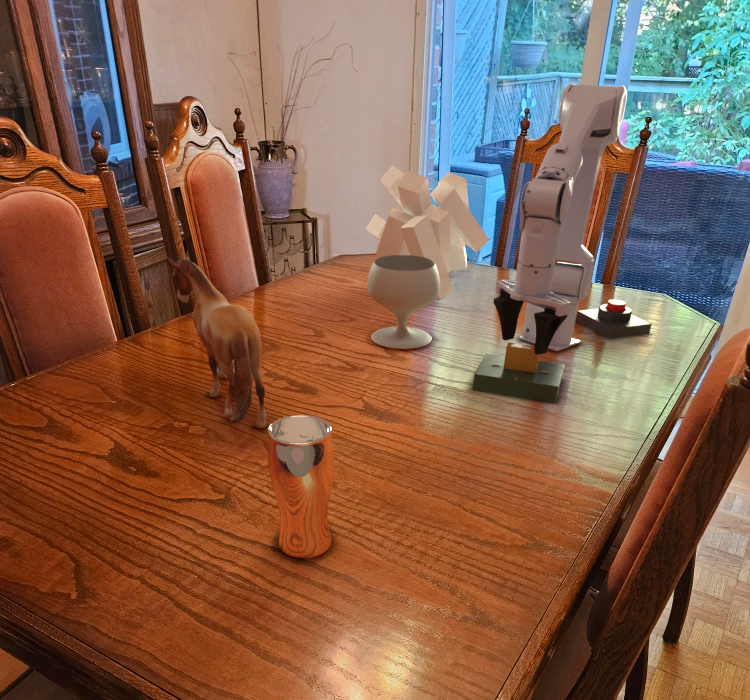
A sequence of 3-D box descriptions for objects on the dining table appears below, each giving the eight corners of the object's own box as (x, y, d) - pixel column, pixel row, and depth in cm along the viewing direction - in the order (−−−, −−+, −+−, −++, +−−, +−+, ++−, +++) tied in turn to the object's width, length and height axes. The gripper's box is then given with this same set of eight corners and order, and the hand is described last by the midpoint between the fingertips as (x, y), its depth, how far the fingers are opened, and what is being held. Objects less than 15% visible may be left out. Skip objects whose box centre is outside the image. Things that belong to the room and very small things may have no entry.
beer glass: (276, 526, 80) (267, 414, 72) (334, 524, 81) (332, 413, 72) (274, 562, 75) (264, 445, 66) (336, 560, 75) (334, 444, 67)
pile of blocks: (391, 279, 187) (338, 161, 163) (495, 242, 178) (454, 110, 153) (389, 357, 165) (327, 233, 140) (508, 318, 155) (463, 178, 131)
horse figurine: (185, 375, 117) (166, 254, 105) (228, 368, 120) (214, 249, 108) (234, 456, 94) (217, 313, 82) (286, 445, 97) (277, 305, 85)
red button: (602, 308, 141) (604, 300, 140) (616, 307, 142) (618, 298, 141) (613, 313, 138) (615, 305, 137) (627, 312, 139) (629, 303, 138)
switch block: (575, 320, 145) (578, 302, 143) (613, 316, 148) (617, 298, 146) (609, 339, 136) (614, 320, 134) (649, 334, 139) (654, 315, 137)
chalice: (355, 345, 130) (355, 267, 122) (381, 323, 141) (383, 250, 133) (423, 357, 126) (428, 276, 118) (444, 333, 137) (450, 258, 128)
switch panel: (472, 390, 114) (474, 373, 112) (484, 368, 122) (486, 352, 120) (555, 403, 110) (558, 385, 108) (561, 380, 118) (564, 363, 116)
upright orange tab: (503, 368, 114) (506, 344, 112) (505, 364, 116) (508, 341, 113) (535, 373, 113) (539, 349, 111) (537, 369, 114) (541, 345, 112)
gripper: (486, 256, 107) (477, 337, 115) (552, 277, 98) (538, 365, 105) (517, 250, 111) (507, 329, 118) (585, 271, 101) (568, 356, 109)
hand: (523, 346), depth 112 cm, fingers open, 7 cm apart
